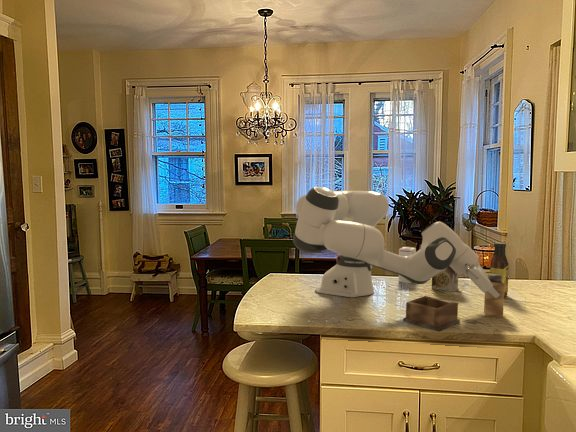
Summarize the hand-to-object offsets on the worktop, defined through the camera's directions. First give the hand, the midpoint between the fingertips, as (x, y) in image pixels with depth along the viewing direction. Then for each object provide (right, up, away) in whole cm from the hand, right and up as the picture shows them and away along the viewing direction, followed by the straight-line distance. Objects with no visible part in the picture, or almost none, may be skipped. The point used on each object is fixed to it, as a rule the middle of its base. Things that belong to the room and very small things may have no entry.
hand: (496, 293), depth 143 cm
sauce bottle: (+12, -5, +25) cm, 28 cm away
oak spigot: (-1, -7, +1) cm, 7 cm away
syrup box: (-16, -3, +47) cm, 49 cm away
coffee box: (-4, -4, +34) cm, 35 cm away
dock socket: (-23, -7, -7) cm, 25 cm away
